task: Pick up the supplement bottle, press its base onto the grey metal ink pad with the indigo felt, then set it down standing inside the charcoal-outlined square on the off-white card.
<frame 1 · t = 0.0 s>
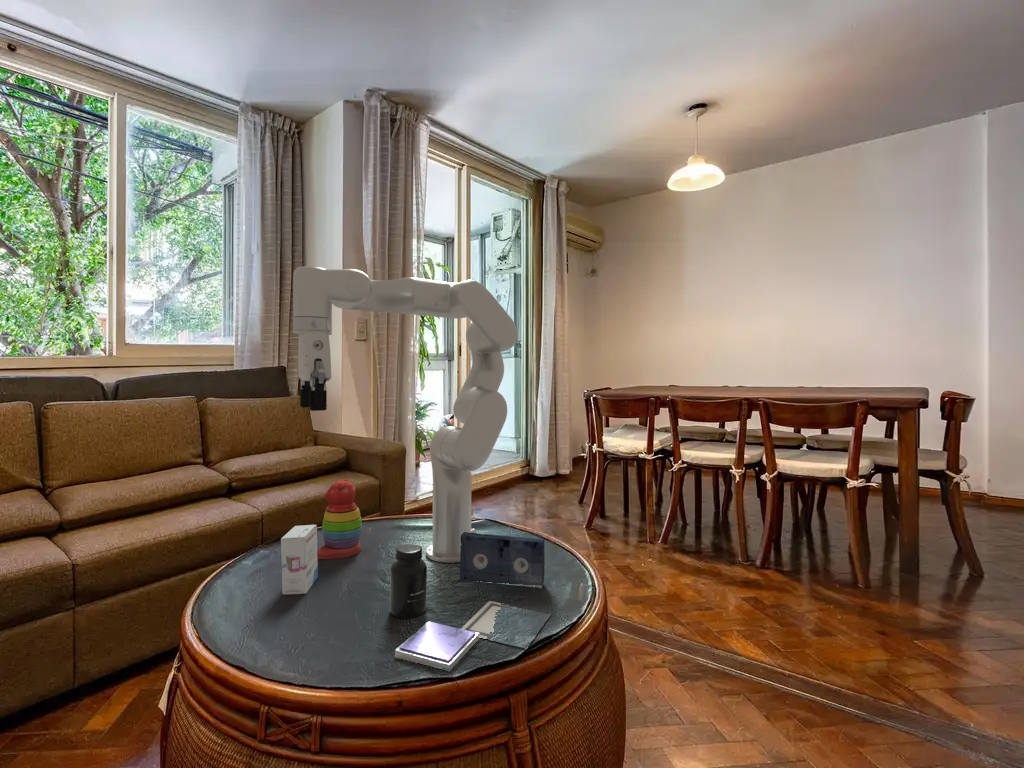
hand: (313, 408, 107), 37 cm above the table, tool pointing down, fingers open, 9 cm apart
ink pad: (438, 648, 84), on the table
marked card: (506, 623, 92), on the table
ink box: (300, 586, 107), on the table
stacking bear: (340, 552, 127), on the table
vhs cassette tape: (501, 583, 110), on the table
supplement bottle: (408, 611, 97), on the table
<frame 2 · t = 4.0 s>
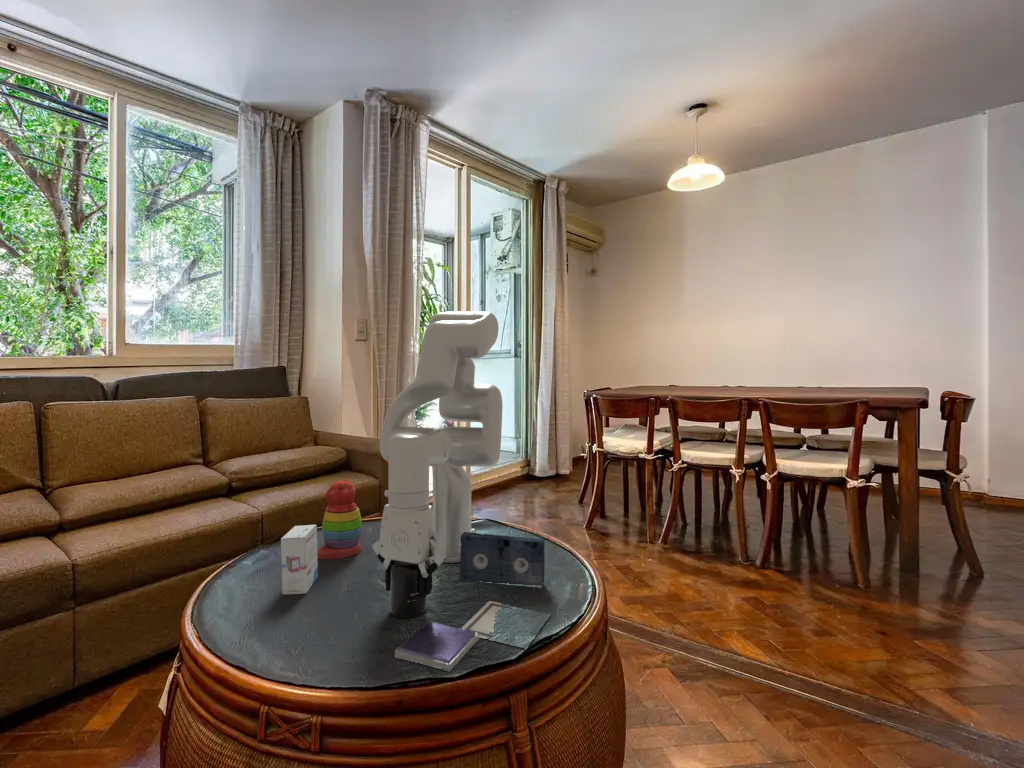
hand: (408, 590, 96), 4 cm above the table, tool pointing down, fingers closed on supplement bottle, 6 cm apart
supplement bottle: (408, 611, 97), on the table, touching gripper
everything else where it was.
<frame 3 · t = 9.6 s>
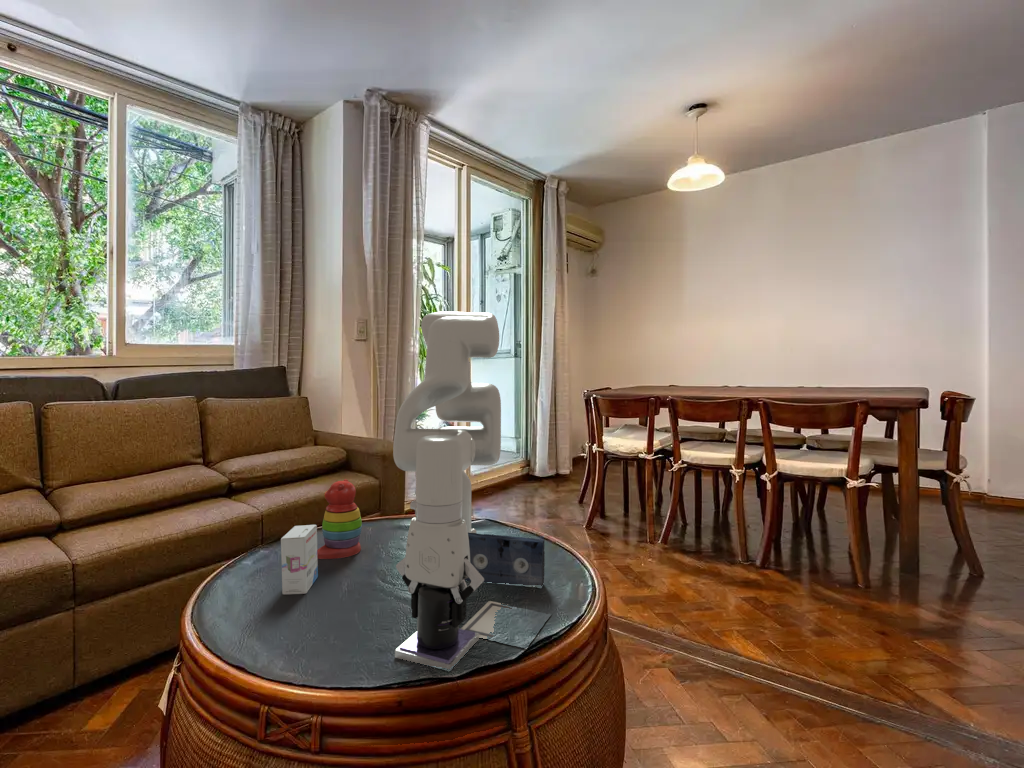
hand: (438, 618, 83), 5 cm above the table, tool pointing down, fingers closed on supplement bottle, 6 cm apart
supplement bottle: (438, 640, 84), point 1 cm above the table, touching gripper, ink pad
everything else where it was.
when the fingers open (5 cm above the table, at t = 15.4 s): supplement bottle drops 1 cm, resting on marked card.
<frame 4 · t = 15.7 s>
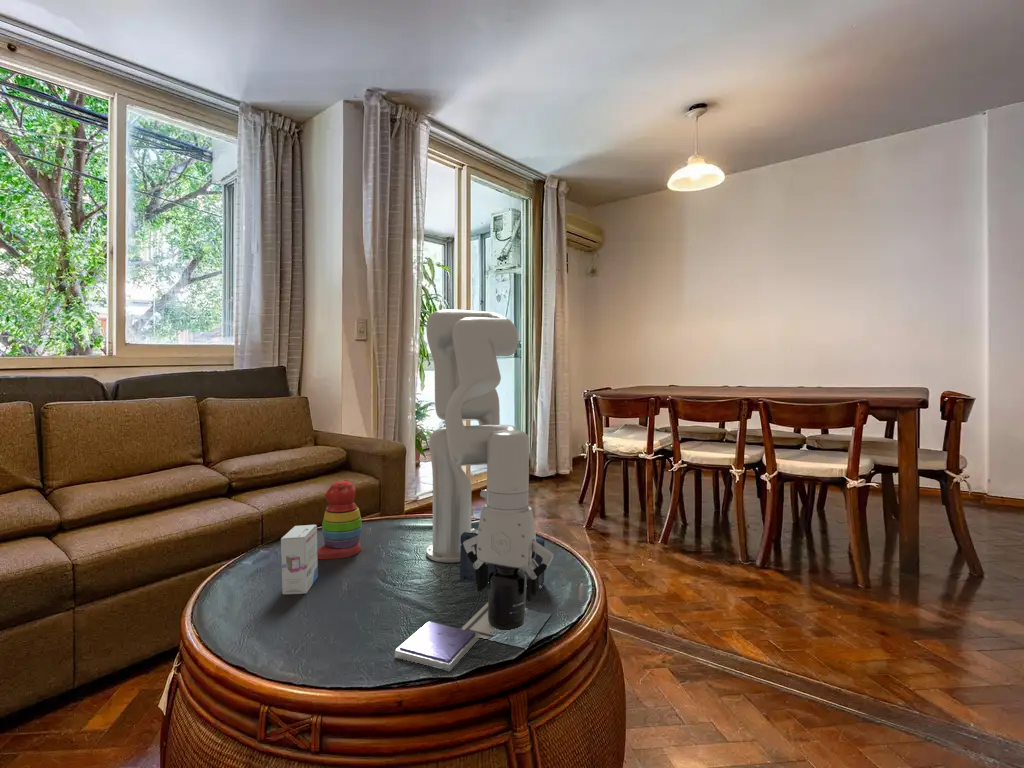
hand: (506, 593, 92), 6 cm above the table, tool pointing down, fingers open, 9 cm apart
supplement bottle: (506, 623, 92), resting on marked card
everything else where it was.
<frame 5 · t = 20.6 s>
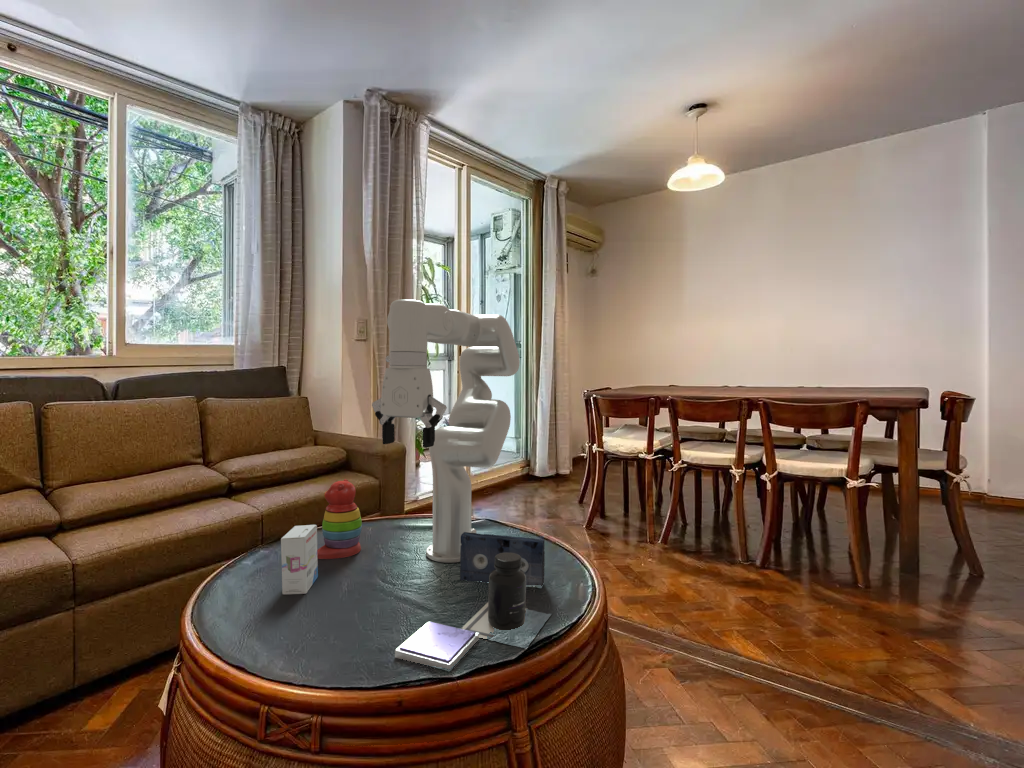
hand: (408, 445, 104), 30 cm above the table, tool pointing down, fingers open, 9 cm apart
nothing on the table moved.
at the end: supplement bottle 0.2 cm off-centre on the marked card, point 0.0 cm above the marked card's base; supplement bottle tilted 0°; the gripper is holding nothing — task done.
